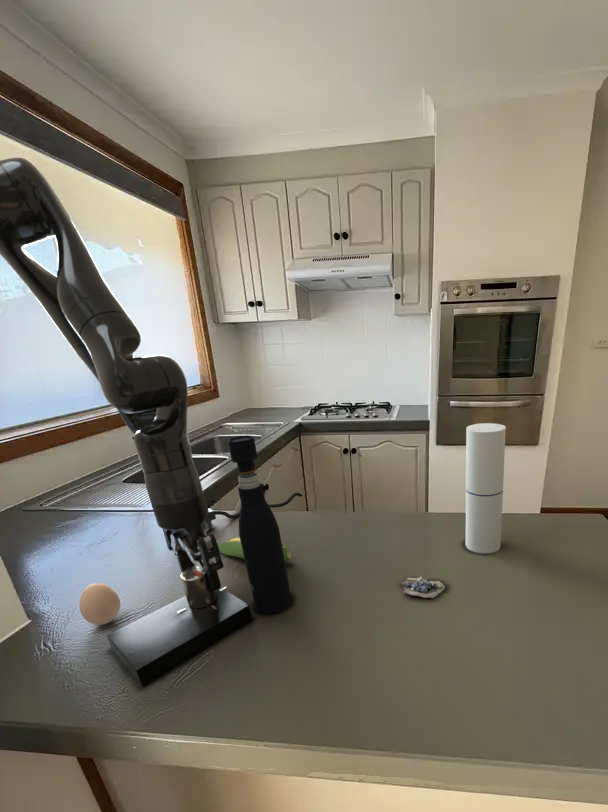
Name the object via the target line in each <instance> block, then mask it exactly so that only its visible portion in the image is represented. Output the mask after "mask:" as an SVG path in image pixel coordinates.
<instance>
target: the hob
mask: <svg viewBox="0 0 608 812" xmlns="http://www.w3.org/2000/svg"><path fill="white" fill-rule="evenodd" d="M227 589H228V586H224V587H222V586H221V587H220V588H219V589H218V590H216V591H217V594H218V597H217V599H216V601H215V602H213V603H212V604H210V605H208V606H206V607H202V608H192V607H190V606H189V605H188V601H187V598H186V595H185V596H182V597H180V598H178V599H176V600H174V601H172V602H169V603H168V604H166V605H164V606H162V607H160V608H158V609H156V610H154V611H151V612H150V613H148V614H146V615H144V616H142V617H140V618H138V619H136V620H134V621H133V622H130V623H128V624H126V625H124V626H122V627H120V628H118V629H116V630H114V631H112V632H111V633H109V634H106V638H107V639H108V643H109V645H110V647H111V650H112V651H113V653H114V654H115V655H116V656H117V658H118V659H119V660H120V661H121V662H122V664H123V665H124V666H125V668H126V669H127V670H128V671H129V672H130V673H131V675H132V676H133V677H134V678H135V680H136V681H137V683H139V684H140V686H141V687H144V686H147V685H148V684H150V683H151V682H153V681H154V680H156V679H158V678H159V677H161V676H163V675H164V674H166V673H168V672H170V671H171V670H172V669H174V668H176V667H177V666H179V665H181V664H182V663H184V662H186V661H188V660H189V659H190V658H192V657H194V656H195V655H197V654H199V653H200V652H202V651H203V650H205V649H207V648H209V647H210V646H212V645H213V644H215V643H217V642H219V641H220V640H222V639H223V638H225V637H227V636H228V635H230V634H232V633H233V632H234V631H237V630H239V629H240V628H241V627H243V626H244V625H247V624H248V623H250V622H251V621H253V617H252V612H251V608H250V604H248V603H246V602H245V601H244V600H242V599H240V598H239V597H237V596H236V595H234V594H233V593H231V592H229V591H228V590H227Z"/></svg>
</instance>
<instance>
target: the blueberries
mask: <svg viewBox="0 0 608 812" xmlns="http://www.w3.org/2000/svg"><path fill="white" fill-rule="evenodd" d="M400 585H401V586H400V587H401V588H402V589H403V590H402V593H403V594H405V595H410V596H418V597H422V598H424V599H427V598H431V599H434V598H436V597H438V596H439V594H441V593H442V592H443V591H445V590H446V586H445V585H444V583H442V582H441V581H439V580H432V579H431V580H427V578H423V577H422V576H420V577H418V576H417V577H416V576H410V577H407V578H406V579H404V580H403V581H401V582H400Z"/></svg>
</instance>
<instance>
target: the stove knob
mask: <svg viewBox="0 0 608 812" xmlns="http://www.w3.org/2000/svg"><path fill="white" fill-rule="evenodd" d="M179 576H180V577H179V578H180V581H181V584H182V585H181V586H182V587H183V588H182V589H183V591H184V594H185V596H186V598H187V601H188V605H189V606H190V607H192V608H202V607H206V606H208V605H210V604H212V603H213V602H215V601H216V599H217V597H218V594H217V591H214V592H212V593H209V592H208V591H207V590H206V587H205V583H204V580H203V576H202V572H201V570H200V569H199V567H198V565H197V564H196V565H195V566H193V567H190V568H188V569H186V570H185V571H184V572H182V573H180V575H179Z"/></svg>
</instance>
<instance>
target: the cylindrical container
mask: <svg viewBox="0 0 608 812" xmlns="http://www.w3.org/2000/svg"><path fill="white" fill-rule="evenodd" d="M465 430H466V431H465V435H466V436H465V439H466V440H465V451H466V452H465V543H464V544H465V547H466V549H468V550H469V551H471V552H473V553H477V554H492V553H496V552H498V551H499V550H500V549H501V545H502V524H503V523H502V521H503V502H504V501H503V500H504V475H505V457H506V456H505V455H506V434H507V433H506V432H507V431H506V430H507V427H506V425H504V424H501V423H495V422H494V423H492V422H490V423H489V422H481V423H475V424H470V425H467V426H466V428H465Z"/></svg>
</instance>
